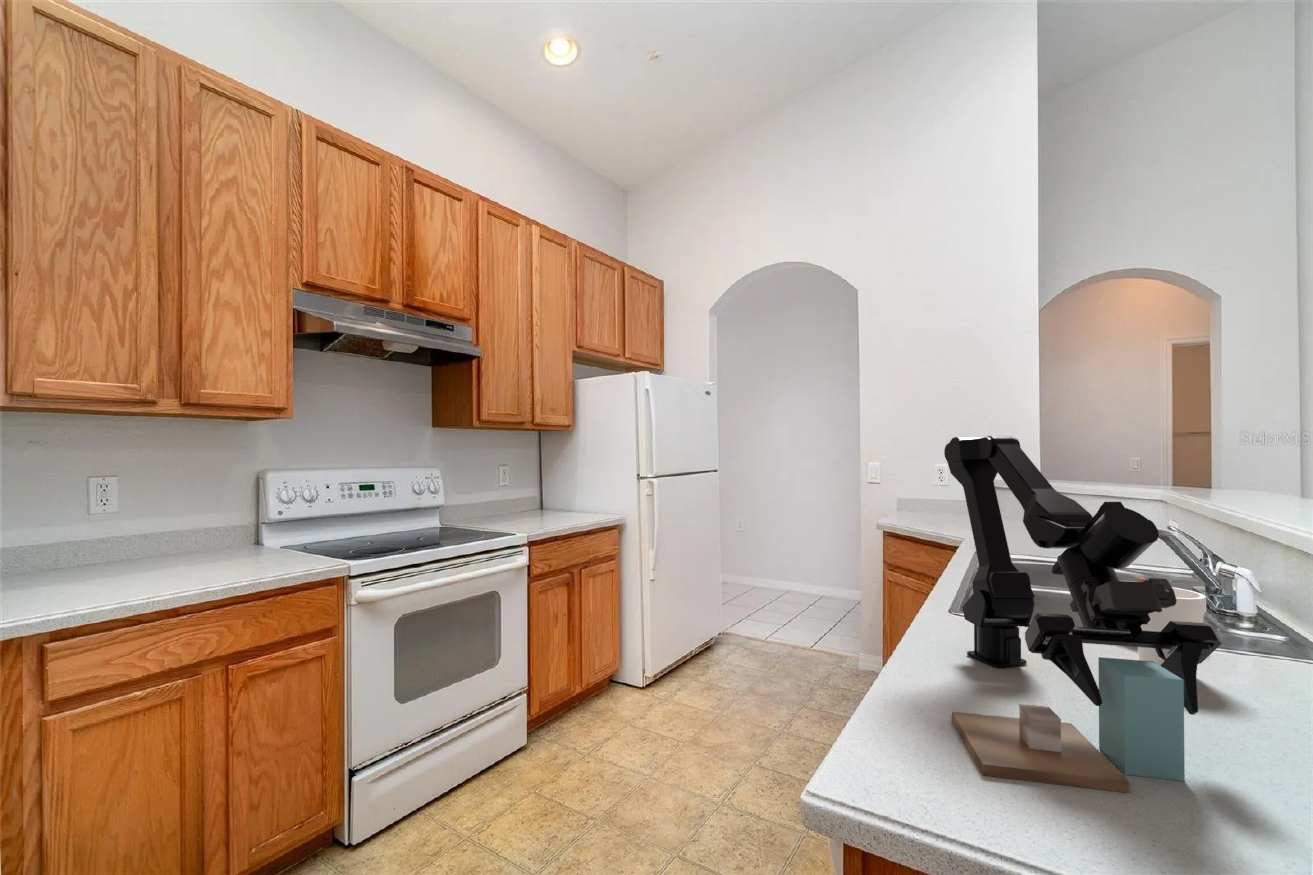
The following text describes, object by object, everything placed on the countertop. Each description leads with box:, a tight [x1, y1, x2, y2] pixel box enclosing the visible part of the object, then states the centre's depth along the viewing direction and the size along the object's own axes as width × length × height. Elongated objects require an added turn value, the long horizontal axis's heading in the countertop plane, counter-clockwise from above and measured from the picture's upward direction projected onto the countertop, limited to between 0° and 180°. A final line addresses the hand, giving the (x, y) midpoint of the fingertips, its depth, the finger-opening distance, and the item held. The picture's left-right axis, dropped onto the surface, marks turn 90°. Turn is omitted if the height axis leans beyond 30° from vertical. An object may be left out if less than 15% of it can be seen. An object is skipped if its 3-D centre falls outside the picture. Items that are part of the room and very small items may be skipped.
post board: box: [951, 703, 1130, 794], centre depth 69 cm, size 13×14×5 cm
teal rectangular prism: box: [1097, 656, 1186, 782], centre depth 66 cm, size 6×6×11 cm
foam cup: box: [1137, 586, 1207, 666], centre depth 93 cm, size 10×9×13 cm
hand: (1145, 708), depth 65 cm, fingers open, 9 cm apart
